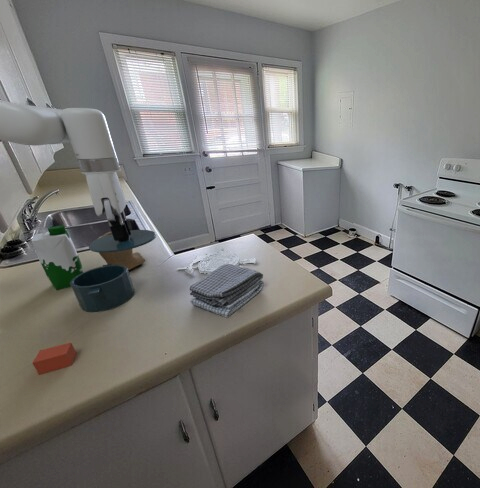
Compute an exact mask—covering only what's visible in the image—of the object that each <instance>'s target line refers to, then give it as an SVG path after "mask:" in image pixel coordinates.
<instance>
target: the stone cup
mask: <svg viewBox="0 0 480 488" xmlns="http://www.w3.org/2000/svg"><path fill="white" fill-rule="evenodd" d="M110 234H112V232H111V231H108V232H106V233H104V234H103V235H100V236H98V238H97V239H99V238H101V237H104V236H107V235H110ZM133 251H134V250H133V249H129V250H124V251H118V252H109V253H99V252H98V254H99V256H101V258H102V259H103V260H104V261H105V263H106V265H107V264H112V265H122V266H125V267H126V268H127V269H128V271H130V270H131V269H134V268H136V267H138V266H139V265H142V264H143V263H146V261H147V259H146V258H145V257H144V256H143V255H142V254H141V253H140V252H138V251H136V252H133Z"/></svg>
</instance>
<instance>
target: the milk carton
mask: <svg viewBox="0 0 480 488" xmlns="http://www.w3.org/2000/svg"><path fill="white" fill-rule="evenodd" d="M31 243H32V246H33V250H34V251H35V254H36V256H37V259H38V260H39V262H40V265H41V267H42V269H43V271H44V273H45V275H46V277H47V279H48V280H49V282H50V283H51V285H52V286H53V288H54V289H55V290H56V291H59V290H63V289H66V288H70V287H71V285H70V282H71V280H72V279H73V278H74V277H76V276H78V275H79V274H81V273H83V272H84V269H83V265H82V262H81V259H80V256H79V254H78V251H77V249H76V246H75V245H74V241H73V240H72V238H71V235H70V233H69V232H68V229H67V228H66V226H65V225H64V224H59V225H58V224H57V225H53V226H49V227H48V228H47V231H44V232H40V233H36V234H35V233H34V235H33V237H32V239H31ZM71 288H72V287H71Z"/></svg>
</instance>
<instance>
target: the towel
mask: <svg viewBox="0 0 480 488" xmlns="http://www.w3.org/2000/svg"><path fill="white" fill-rule="evenodd" d="M240 266H241V265H239V266H236V265H232V264H226V265H223V266H220V267H219V268H217V269H216V270H214V271H213V272H212V273H210V274H209V275H206V276H205V277H202V279H200V280H198V281H197V282H194V283H193V284H191V285H190V286H189V291H190V293H189V295H190V296H192V297H193V298H191V299H190V300H189V302H190V304H192V305H193V306H195V307H197V308H201V309H204V310H206V311H208V312H212V313H214V314H216V315H219V316H222V317H225V318H229V317H231V315H233V314H234V313H235V312H237V311H238V310H239V309H240V308H241V307H243V306H244V305H246V304H248V302H249V301H250V300H252V299H253V298H254V297H256V295H258V294H259V293H260V292H261V291H262V290H263V288H264V286H265V282H264V281H263V279H264V274H263V273H262V272H261V271H259V270H258V271H257V270H255V269H251V268H248V267H245V266H242V267H240Z"/></svg>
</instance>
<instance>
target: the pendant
mask: <svg viewBox="0 0 480 488" xmlns="http://www.w3.org/2000/svg"><path fill="white" fill-rule="evenodd" d="M220 251H221V250H220ZM231 251H232V250H223V251H221V252H227V253H228V252H231ZM217 252H218V251H214V252H213V253H217ZM219 256H220V257H219ZM221 256H222V257H221ZM213 257H217V258H214V259H213ZM207 258H208V259H207ZM191 261H192V260H191ZM191 261H190V262H191ZM203 261H204V262H206V264H205V263H202V262H203ZM207 261H208V262H207ZM190 262H189V263H190ZM192 262H193V261H192ZM192 262H191V263H192ZM191 263H190V264H191ZM242 263H243V264H242ZM245 263H254V264H253V265H256V264H257V258H255V257H252V258H245V259H241V260H240V257H239V256H237V254H236V253H235V254H213V255H210V256H209V257H208V256H206V257H205V258H203V260H201V261H200V262H197V263H193V265H192V266H195V265H196V264H197V266H198V268H197V270H198V269H199V270H198V272H201V273H208V274H206V276H208V275H209V274H210V273H212V272H213V271H214V270H216V269H217V268H219V267H220V266H223V265H226V264H232V265H236V266H240V267H243V266H242V265H246V264H245ZM200 264H201V267H202V266H203V267H202V268H201V267H200ZM183 267H184V268H185V267H186V266H183ZM187 267H188V266H187ZM189 267H190V265H189ZM189 267H188V268H187V269H182V270H181V271H185V273H186V274H188V273H191V274H189V275H190V276H194V272H195V269H196V268H192V269H194V271H193V270H192V269H191V268H189ZM187 272H188V273H187ZM201 273H199V274H200V275H204V274H201Z"/></svg>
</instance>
